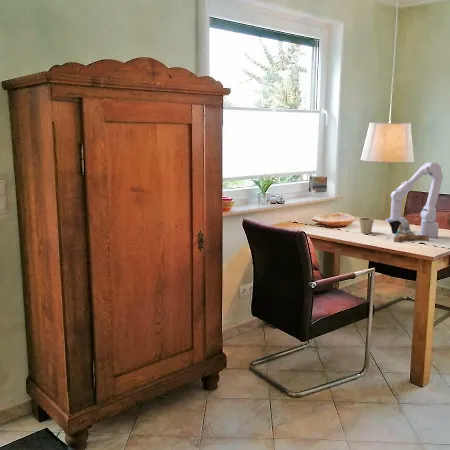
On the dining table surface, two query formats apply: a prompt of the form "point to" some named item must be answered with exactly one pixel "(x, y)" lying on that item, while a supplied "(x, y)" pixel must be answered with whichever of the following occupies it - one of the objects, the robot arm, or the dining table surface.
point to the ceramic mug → (404, 226)
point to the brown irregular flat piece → (410, 237)
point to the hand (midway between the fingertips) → (394, 233)
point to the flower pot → (366, 224)
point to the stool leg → (400, 232)
